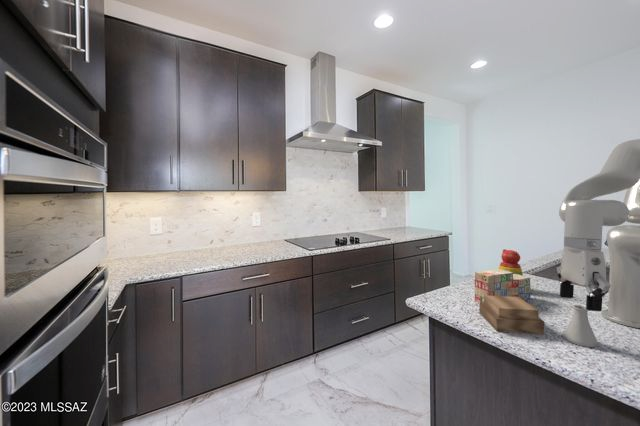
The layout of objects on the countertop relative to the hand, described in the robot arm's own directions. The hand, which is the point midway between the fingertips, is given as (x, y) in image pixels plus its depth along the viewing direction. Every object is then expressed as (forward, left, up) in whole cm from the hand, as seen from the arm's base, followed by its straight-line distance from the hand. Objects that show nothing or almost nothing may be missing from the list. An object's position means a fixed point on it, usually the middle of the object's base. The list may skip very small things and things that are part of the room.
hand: (579, 303), depth 74 cm
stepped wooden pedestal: (+13, -9, -11) cm, 20 cm away
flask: (-1, 0, -11) cm, 11 cm away
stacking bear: (-4, -44, -11) cm, 46 cm away
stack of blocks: (+6, -30, -12) cm, 33 cm away
